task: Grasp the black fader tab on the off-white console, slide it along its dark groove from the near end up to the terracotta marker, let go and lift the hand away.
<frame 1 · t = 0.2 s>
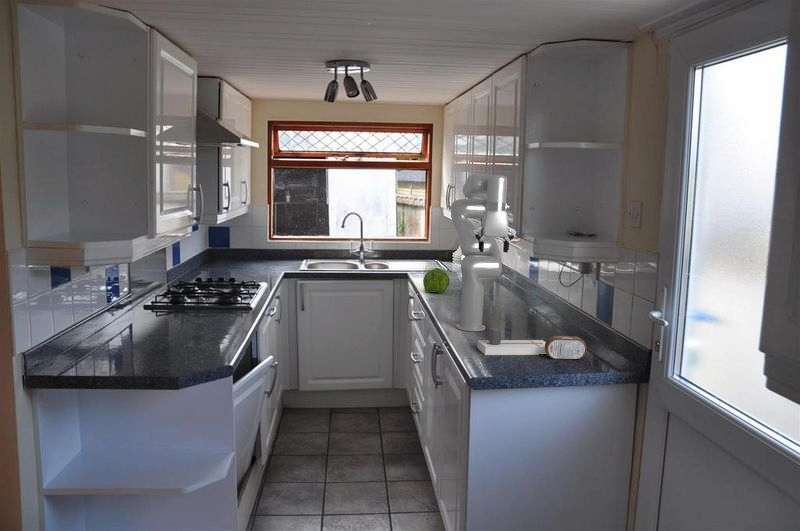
hand: (493, 251, 251), 36 cm above the worktop, tool pointing down, fingers open, 9 cm apart
tin: (565, 359, 237), on the worktop
console: (514, 351, 245), on the worktop
lettuce: (436, 291, 372), on the worktop
fader tab: (494, 335, 242), point 6 cm above the worktop, slide at -8.0 cm
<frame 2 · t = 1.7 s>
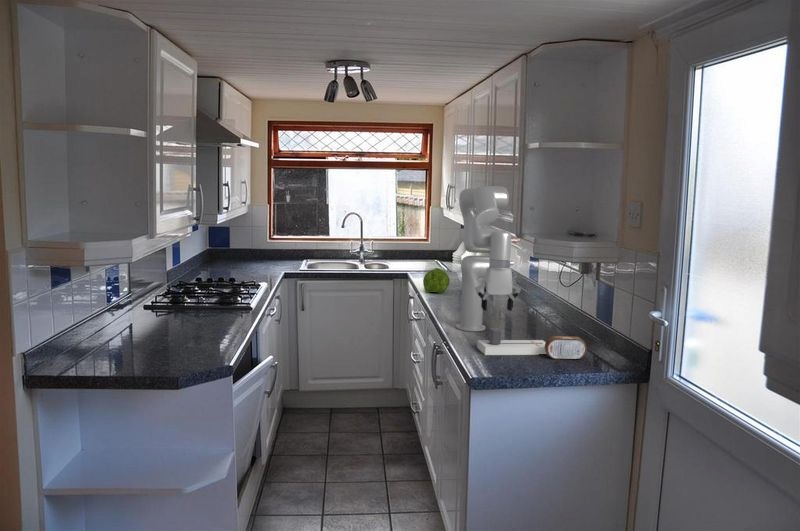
hand: (496, 310, 241), 16 cm above the worktop, tool pointing down, fingers open, 9 cm apart
nothing on the worktop moved.
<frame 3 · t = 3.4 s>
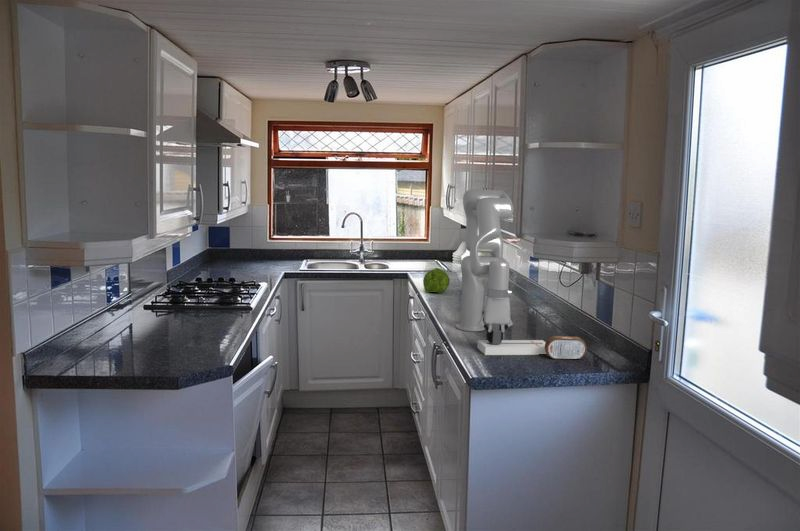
hand: (494, 341, 243), 4 cm above the worktop, tool pointing down, fingers closed on fader tab, 3 cm apart
fader tab: (494, 335, 242), point 6 cm above the worktop, slide at -8.0 cm, touching gripper
everything else where it was.
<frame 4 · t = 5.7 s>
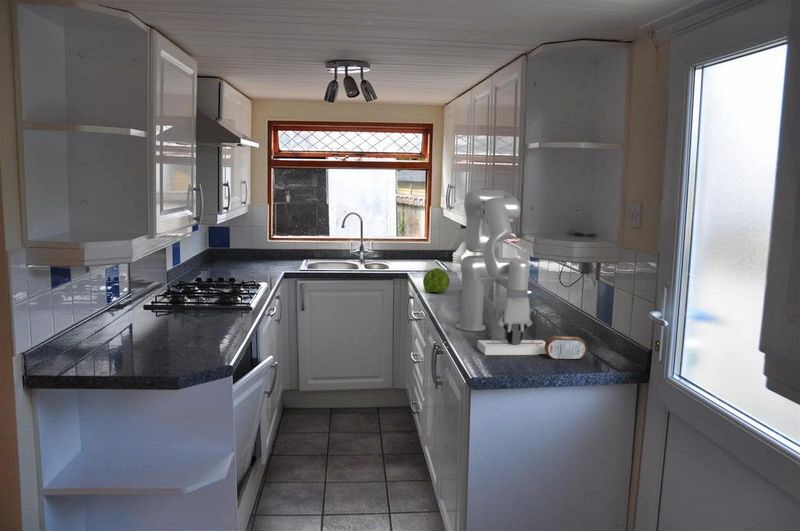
hand: (513, 341, 244), 4 cm above the worktop, tool pointing down, fingers closed on fader tab, 3 cm apart
fader tab: (514, 335, 244), point 6 cm above the worktop, slide at -0.4 cm, touching gripper
everything else where it was.
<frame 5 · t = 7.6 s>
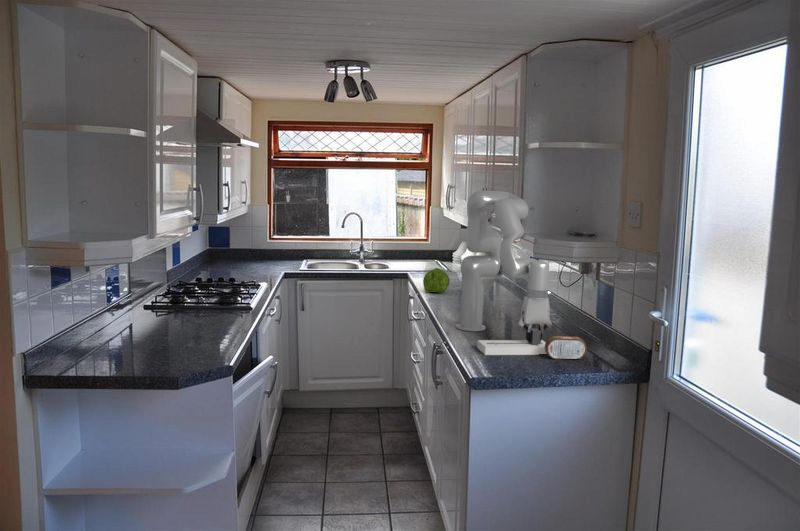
hand: (533, 341, 245), 4 cm above the worktop, tool pointing down, fingers closed on fader tab, 3 cm apart
fader tab: (534, 335, 245), point 6 cm above the worktop, slide at 7.5 cm, touching gripper
everything else where it was.
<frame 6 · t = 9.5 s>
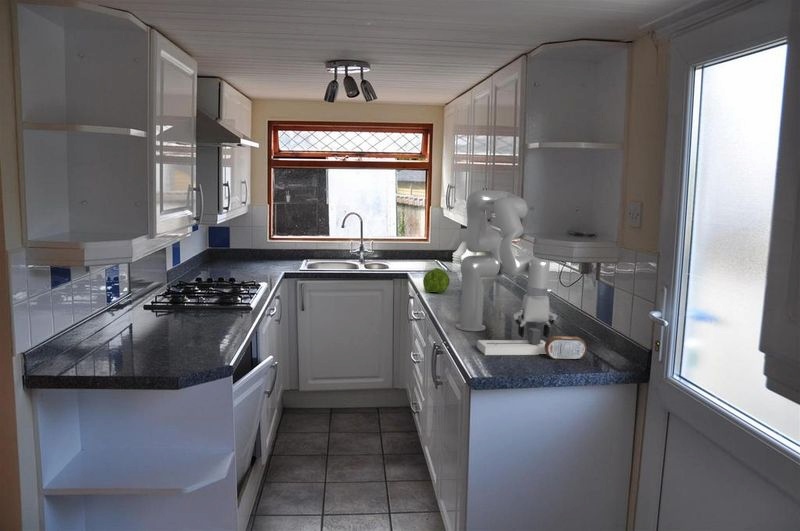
hand: (533, 336, 246), 6 cm above the worktop, tool pointing down, fingers open, 9 cm apart
fader tab: (534, 335, 245), point 6 cm above the worktop, slide at 7.5 cm
everything else where it was.
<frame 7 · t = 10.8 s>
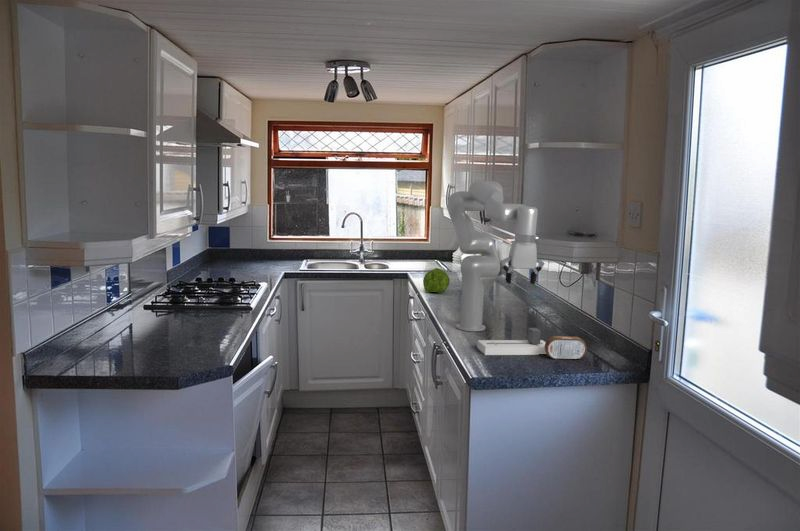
hand: (520, 283, 249), 25 cm above the worktop, tool pointing down, fingers open, 9 cm apart
nothing on the worktop moved.
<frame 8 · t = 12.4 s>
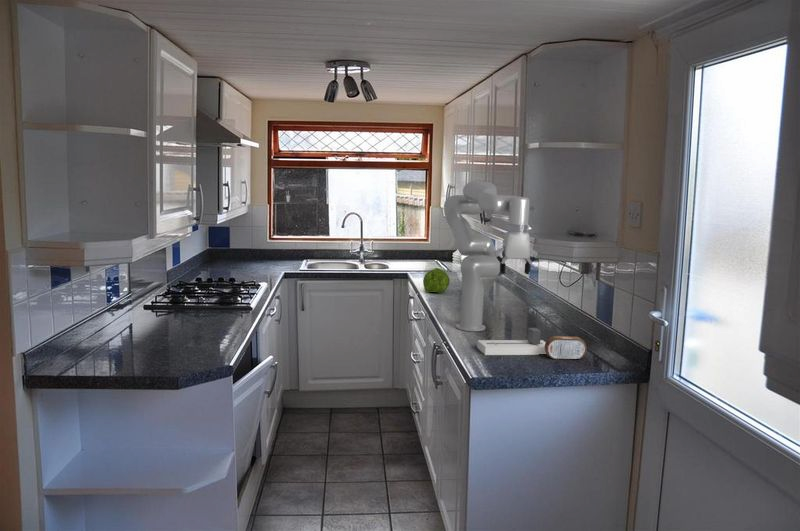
hand: (514, 273, 250), 28 cm above the worktop, tool pointing down, fingers open, 9 cm apart
nothing on the worktop moved.
at the end: fader tab slide at 7.5 cm; the gripper is holding nothing; tin moved 0.3 cm from its start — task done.
